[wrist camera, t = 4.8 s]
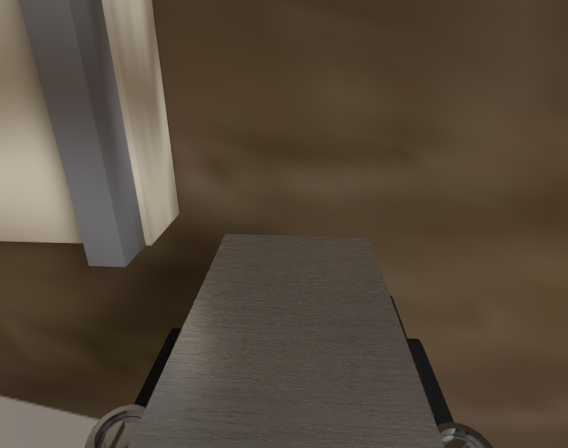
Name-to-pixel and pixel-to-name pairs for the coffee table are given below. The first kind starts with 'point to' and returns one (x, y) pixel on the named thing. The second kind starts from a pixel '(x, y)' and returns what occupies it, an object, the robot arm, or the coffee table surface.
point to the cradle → (83, 127)
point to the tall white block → (290, 355)
